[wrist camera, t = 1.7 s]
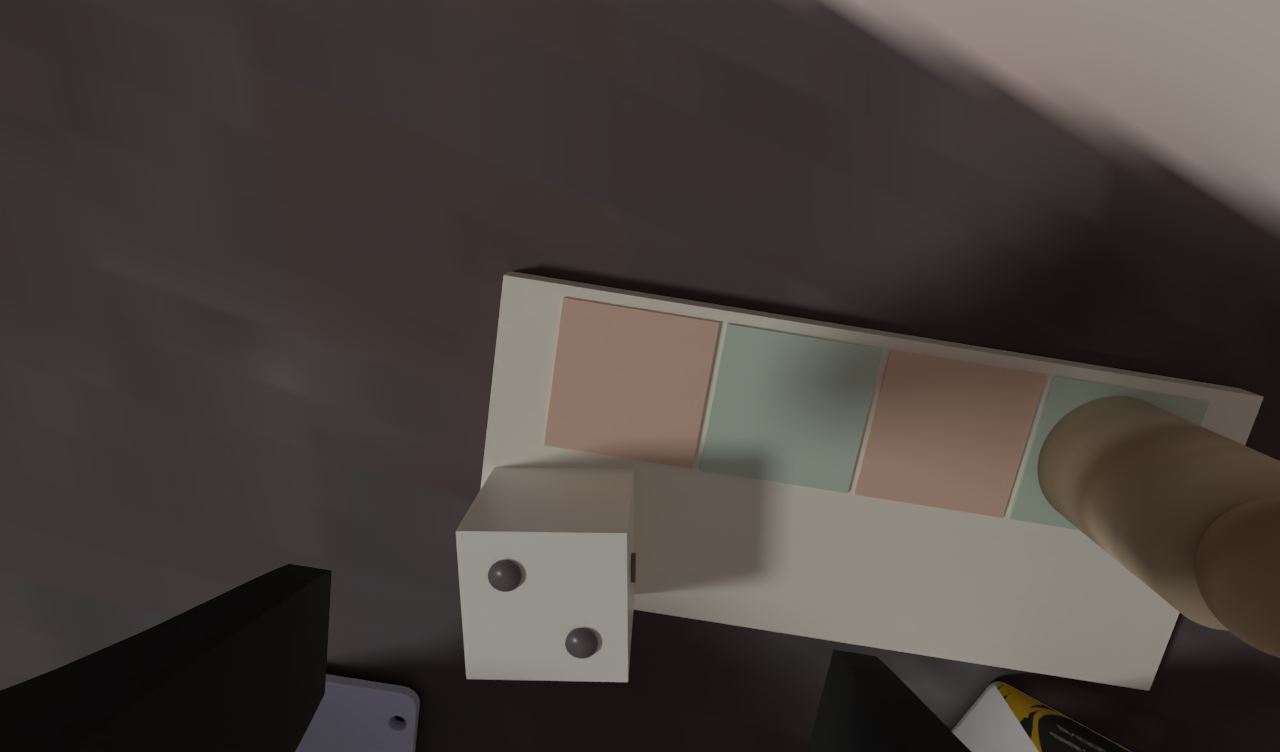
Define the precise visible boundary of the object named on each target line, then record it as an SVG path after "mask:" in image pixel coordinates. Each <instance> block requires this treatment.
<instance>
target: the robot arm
mask: <svg viewBox="0 0 1280 752" xmlns="http://www.w3.org/2000/svg"><path fill="white" fill-rule="evenodd" d="M330 589H331V571H330V570H324V569H318V568H311V567H305V566H299V565H292V564H288V565H285V566H283V567H280V568H278V569H275V570H273V571H271V572H268V573H266V574H264V575H262V576H259V577H257V578H255V579H253V580H251V581H249V582H247V583H245V584H242V585H240V586H238V587H236V588H234V589H232V590H230V591H228V592H226V593H224V594H222V595H220V596H217V597H215V598H213V599H211V600H209V601H207V602H205V603H203V604H201V605H199V606H197V607H194V608H192V609H190V610H188V611H186V612H184V613H182V614H180V615H177V616H175V617H173V618H171V619H169V620H167V621H165V622H163V623H161V624H158V625H156V626H154V627H152V628H150V629H148V630H146V631H143V632H141V633H139V634H136V635H134V636H132V637H129V638H127V639H125V640H123V641H120V642H118V643H116V644H113V645H111V646H109V647H106V648H104V649H102V650H99V651H97V652H95V653H92V654H90V655H88V656H86V657H83V658H81V659H79V660H76V661H74V662H72V663H69V664H67V665H65V666H62V667H60V668H58V669H55V670H53V671H50V672H48V673H45V674H43V675H40V676H38V677H35V678H32V679H30V680H27V681H25V682H22V683H19V684H17V685H14V686H12V687H9V688H6V689H4V690H1V691H0V752H415V750H416V739H417V728H418V718H419V707H420V701H419V697H418V695H417V694H416V692H414V691H413V690H412V689H411V688H408V687H405V686H399V685H392V684H386V683H380V682H373V681H367V680H361V679H354V678H348V677H341V676H335V675H329V674H326V664H327V645H328V627H329V608H330ZM394 716H400V717H402V718H403V719H404V720H405V721H404V722H401V721H399V720H397V719H396V718H395V717H394ZM808 752H971V751H970V750H969V749H968V748H967V747H966V746H965V745H964V744H963V743H962V742H961V741H960V740H959V739H958V738H957V737H956V736H955V735H954V734H953V733H952V732H951V731H950V730H949V729H948V728H947V727H946V726H945V725H944V724H943V723H942V722H941V720H940V719H939V718H938V717H937V716H936V715H935V714H934V713H933V712H932V711H931V710H930V709H929V708H928V707H927V706H926V705H925V704H924V703H923V702H922V701H921V700H920V699H919V698H918V697H917V696H916V695H915V694H914V693H913V692H912V691H911V690H910V689H909V688H908V687H907V686H906V685H905V684H904V683H903V682H902V681H901V680H900V679H899V678H898V677H897V676H896V675H895V674H894V673H893V672H892V671H891V670H890V669H889V668H888V667H887V666H886V665H885V664H884V663H883V662H882V661H881V660H880V659H878V658H877V657H876V656H870V655H864V654H857V653H851V652H845V651H838V650H833V654H832V658H831V662H830V666H829V670H828V674H827V678H826V682H825V685H824V689H823V693H822V697H821V701H820V705H819V709H818V713H817V717H816V720H815V724H814V728H813V732H812V736H811V740H810V744H809V748H808Z"/></svg>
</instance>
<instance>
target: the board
mask: <svg viewBox="0 0 1280 752" xmlns="http://www.w3.org/2000/svg"><path fill="white" fill-rule="evenodd" d="M1110 396H1125V397H1132V398H1137V399H1140V400H1143V401H1145V402H1148V403H1150V404H1152V405H1155V406H1157V407H1159V408H1161V409H1164V410H1166V411H1168V412H1170V413H1173V414H1175V415H1177V416H1179V417H1182V418H1184V419H1186V420H1188V421H1191V422H1193V423H1195V424H1197V425H1200V426H1202V427H1204V428H1206V429H1209V430H1211V431H1213V432H1215V433H1218V434H1220V435H1222V436H1224V437H1227V438H1229V439H1231V440H1233V441H1236V442H1238V443H1240V444H1242V445H1245V444H1246V442H1247V439H1248V437H1249V434H1250V431H1251V429H1252V426H1253V424H1254V421H1255V419H1256V416H1257V413H1258V411H1259V408H1260V406H1261V403H1262V401H1263V398H1264V397H1263V396H1260V395H1257V394H1254V393H1251V392H1248V391H1246V390H1243V389H1240V388H1235V387H1229V386H1222V385H1216V384H1210V383H1204V382H1198V381H1191V380H1185V379H1179V378H1173V377H1166V376H1160V375H1154V374H1148V373H1141V372H1135V371H1129V370H1123V369H1117V368H1110V367H1104V366H1098V365H1092V364H1085V363H1079V362H1073V361H1067V360H1060V359H1054V358H1048V357H1042V356H1036V355H1029V354H1023V353H1017V352H1011V351H1004V350H998V349H992V348H986V347H979V346H973V345H967V344H961V343H954V342H948V341H942V340H936V339H930V338H923V337H917V336H911V335H905V334H898V333H892V332H886V331H880V330H873V329H867V328H861V327H855V326H849V325H842V324H836V323H830V322H824V321H817V320H811V319H805V318H799V317H792V316H786V315H780V314H774V313H768V312H761V311H755V310H749V309H743V308H736V307H730V306H724V305H718V304H711V303H705V302H699V301H693V300H687V299H680V298H674V297H668V296H662V295H655V294H649V293H643V292H637V291H630V290H624V289H618V288H612V287H606V286H599V285H593V284H587V283H581V282H574V281H568V280H562V279H556V278H549V277H543V276H537V275H531V274H525V273H518V272H512V271H510V272H508V273H506V274H505V275H504V277H503V286H502V295H501V304H500V314H499V323H498V332H497V341H496V351H495V360H494V369H493V378H492V388H491V397H490V406H489V415H488V425H487V434H486V443H485V452H484V462H483V471H482V480H481V488H482V487H483V485H484V484H485V482H486V480H487V479H488V477H489V475H490V474H491V472H492V470H493V469H494V467H516V468H616V469H634V549H635V553H636V581H635V597H634V610H640V611H646V612H653V613H659V614H665V615H672V616H678V617H684V618H691V619H697V620H703V621H710V622H716V623H722V624H729V625H735V626H741V627H748V628H754V629H761V630H767V631H773V632H780V633H786V634H792V635H799V636H805V637H811V638H818V639H824V640H830V641H837V642H843V643H849V644H856V645H862V646H868V647H875V648H881V649H887V650H894V651H900V652H906V653H913V654H919V655H925V656H932V657H938V658H944V659H951V660H957V661H963V662H970V663H976V664H982V665H989V666H995V667H1001V668H1008V669H1014V670H1021V671H1027V672H1033V673H1040V674H1046V675H1052V676H1059V677H1065V678H1071V679H1078V680H1084V681H1090V682H1097V683H1103V684H1109V685H1116V686H1122V687H1128V688H1135V689H1141V690H1147V691H1149V690H1150V687H1151V685H1152V682H1153V680H1154V677H1155V675H1156V672H1157V670H1158V667H1159V664H1160V662H1161V659H1162V657H1163V654H1164V652H1165V649H1166V647H1167V644H1168V641H1169V639H1170V636H1171V634H1172V631H1173V629H1174V626H1175V623H1176V621H1177V618H1178V616H1179V613H1180V612H1179V611H1177V610H1176V609H1175V608H1174V607H1173V606H1171V605H1170V604H1169V603H1168V602H1166V601H1165V600H1164V599H1163V598H1162V597H1160V596H1159V595H1158V594H1157V593H1156V592H1154V591H1153V590H1152V589H1151V588H1149V587H1148V586H1147V585H1146V584H1145V583H1143V582H1142V581H1141V580H1140V579H1139V578H1137V577H1136V576H1135V575H1134V574H1132V573H1131V572H1130V571H1129V570H1128V569H1126V568H1125V567H1124V566H1123V565H1122V564H1120V563H1119V562H1118V561H1117V560H1116V559H1114V558H1113V557H1112V556H1111V555H1109V554H1108V553H1107V552H1106V551H1105V550H1103V549H1102V548H1101V547H1100V546H1099V545H1097V544H1096V543H1095V542H1094V541H1092V540H1091V539H1090V538H1089V537H1088V536H1086V535H1085V534H1084V533H1083V532H1082V531H1080V530H1079V529H1078V528H1077V527H1075V526H1074V525H1073V524H1072V523H1071V522H1069V521H1068V520H1067V519H1066V518H1065V517H1063V516H1062V515H1061V514H1060V513H1059V512H1057V511H1056V510H1055V509H1054V508H1053V507H1052V506H1051V505H1050V504H1049V502H1048V501H1047V500H1046V498H1045V496H1044V495H1043V493H1042V491H1041V488H1040V485H1039V481H1038V473H1037V466H1038V458H1039V454H1040V450H1041V448H1042V445H1043V443H1044V441H1045V439H1046V437H1047V435H1048V434H1049V432H1050V431H1051V429H1052V428H1053V427H1054V426H1055V425H1056V423H1057V422H1058V421H1059V420H1060V419H1061V418H1063V417H1064V416H1065V415H1066V414H1067V413H1069V412H1070V411H1072V410H1073V409H1075V408H1076V407H1078V406H1080V405H1082V404H1084V403H1087V402H1089V401H1092V400H1095V399H1099V398H1103V397H1110ZM480 490H481V489H480Z"/></svg>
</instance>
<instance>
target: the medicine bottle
mask: <svg viewBox="0 0 1280 752" xmlns="http://www.w3.org/2000/svg"><path fill="white" fill-rule="evenodd" d="M951 732H952V733H953V734H954V735H955V736H956V737H957V738H958V739H959V740H960V741H961V742H962V743H963V744H964V745H965V746H966V747H967V748H968V749H969V750H970V751H971V752H1132V751H1130V750H1128V749H1126V748H1124V747H1122V746H1121V745H1119V744H1117V743H1115V742H1113V741H1111V740H1110V739H1108V738H1106V737H1104V736H1102V735H1100V734H1099V733H1097V732H1095V731H1093V730H1091V729H1089V728H1087V727H1086V726H1084V725H1082V724H1080V723H1078V722H1076V721H1075V720H1073V719H1071V718H1069V717H1067V716H1065V715H1063V714H1062V713H1060V712H1058V711H1056V710H1054V709H1052V708H1051V707H1049V706H1047V705H1045V704H1043V703H1041V702H1040V701H1038V700H1036V699H1034V698H1032V697H1030V696H1028V695H1027V694H1025V693H1023V692H1021V691H1019V690H1017V689H1016V688H1014V687H1012V686H1010V685H1008V684H1006V683H1004V682H1000V681H997V682H993V683H991V684H990V685H989V686H988V687H987V688H986V689H985V690H984V692H983V693H982V694H981V695H980V697H979V698H978V699H977V700H976V701H975V703H974V704H973V705H972V706H971V708H970V709H969V710H968V711H967V712H966V714H965V715H964V716H963V717H962V718H961V720H960V721H959V722H958V723H957V725H956V726H955V727H954V728H953V729H952V731H951Z"/></svg>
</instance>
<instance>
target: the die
mask: <svg viewBox="0 0 1280 752" xmlns="http://www.w3.org/2000/svg"><path fill="white" fill-rule="evenodd" d="M456 543H457V557H458V571H459V585H460V598H461V612H462V626H463V640H464V654H465V668H466V679H485V680H535V681H586V682H628V677H629V663H630V650H631V637H632V624H633V611H634V597H635V581H636V553H635V549H634V469H616V468H516V467H494V469H493V470H492V472H491V474H490V475H489V477H488V479H487V480H486V482H485V484H484V485H483V487H482V488H481V490H480V492H479V493H478V495H477V497H476V498H475V500H474V502H473V503H472V505H471V507H470V508H469V510H468V512H467V513H466V515H465V516H464V518H463V520H462V521H461V523H460V525H459V526H458V528H457V530H456Z"/></svg>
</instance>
